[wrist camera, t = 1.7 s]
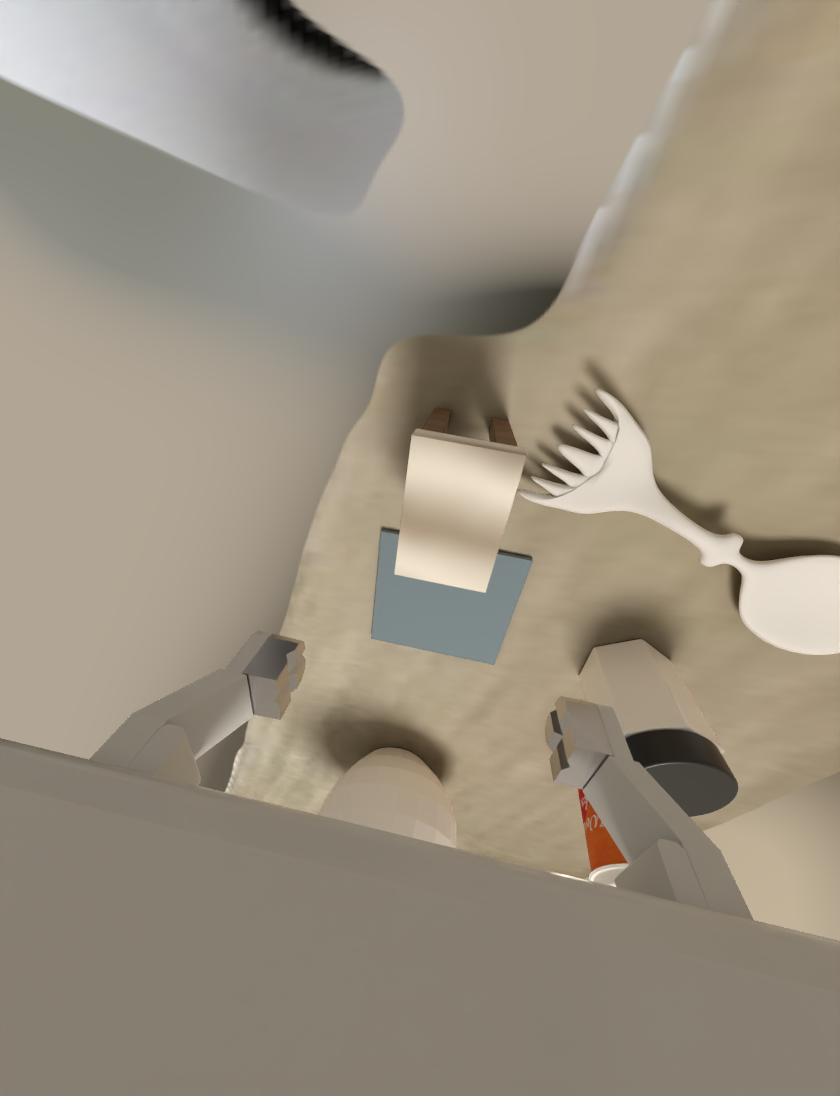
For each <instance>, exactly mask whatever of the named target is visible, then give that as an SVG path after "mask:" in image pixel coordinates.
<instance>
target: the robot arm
mask: <svg viewBox="0 0 840 1096" xmlns="http://www.w3.org/2000/svg"><path fill="white" fill-rule="evenodd" d="M304 650H305V645H304V641H300V640H296V639H292V638H288V637H284V636H280V635H276V634H271V633H267V632H263V631H257V632H255V633H254V634H252V636H251V637H250V638H249V639H248V641H247V642H246V643H245V645H244V646H243V647H242V648H241V650H240V651H239V652H238V653H237V655H236V656H235V657H234V659H233V660H232V661H231V662H230V664H229V665H228V666H227V668H226V669H225V670H223V669H219V670H217V671H215V672H213V673H211V674H209V675H207V676H205V677H203V678H201V679H199V680H197V681H195V682H194V683H191V684H190V685H188V686H186V687H184V688H182V689H180V690H178V691H176V692H174V693H172V694H170V695H168V696H166V697H164V698H162V699H160V700H158V701H156V702H154V703H152V704H150V705H148V706H146V707H145V708H142V709H141V710H138V711H137V712H135V713H133V714H132V715H131V716H130V717H129V718H128V719H127V720H126V721H125V722H124V723H123V724H122V725H121V726H120V727H119V728H118V730H116V732H115V733H114V734H113V735H112V736H111V737H110V738H109V739H108V740H107V741H106V742H105V743H104V744H103V745H102V746H101V747H100V748H99V750H98V751H97V752H96V753H95V754H94V755H93V756H92V757H91V758H90V759H89V760H88V759H84V758H80V757H76V756H72V755H67V754H63V753H59V752H55V751H50V750H47V749H43V748H38V747H34V746H30V745H26V744H21V743H18V742H14V741H9V740H5V739H1V738H0V1096H840V941H837V940H833V939H829V938H825V937H821V936H816V935H812V934H809V933H804V932H800V931H796V930H791V929H788V928H784V927H780V926H775V925H771V924H767V923H763V922H759V921H754V920H753V918H752V916H751V913H750V911H749V909H748V907H747V905H746V903H745V901H744V899H743V897H742V895H741V892H740V890H739V888H738V886H737V884H736V882H735V880H734V878H733V876H732V874H731V871H730V869H729V867H728V865H727V863H726V861H725V859H724V857H723V855H722V853H721V851H720V850H719V849H718V848H717V847H716V845H715V844H714V843H713V842H712V841H711V840H710V839H709V838H708V837H707V836H706V835H705V834H704V832H703V831H702V830H701V829H700V828H699V827H698V826H697V825H696V824H695V823H694V822H693V820H692V819H691V818H690V817H689V816H688V815H687V814H686V813H685V812H684V811H683V810H682V809H681V807H680V806H679V805H678V804H677V803H676V802H675V801H674V800H673V799H672V798H671V797H670V795H669V794H668V793H667V792H666V791H665V790H664V789H663V788H662V787H661V786H660V785H659V784H658V782H657V781H656V780H655V779H654V778H653V777H652V776H651V775H650V774H649V773H648V772H647V771H646V769H645V768H644V767H643V766H642V765H641V764H640V763H639V762H636V761H634V760H633V758H632V755H631V753H630V750H629V747H628V745H627V742H626V739H625V737H624V734H623V732H622V729H621V726H620V724H619V721H618V718H617V716H616V713H615V711H614V709H613V708H612V707H609V706H605V705H600V704H595V703H592V702H587V701H582V700H577V699H572V698H567V697H562V696H561V697H559V698H558V699H557V701H556V703H555V706H556V710H554V711H552V712H550V714H549V716H548V718H547V722H546V728H545V732H546V742H547V745H548V746H549V747H550V749H551V750H552V751H553V754H552V755H551V757H550V765H551V771H552V776H553V782H555V783H559V784H563V785H567V786H571V787H575V788H578V789H582V790H583V793H584V795H585V796H586V798H587V799H588V801H589V802H590V804H591V806H592V807H593V809H594V810H595V812H596V813H597V815H598V817H599V818H600V820H601V821H602V823H603V824H604V826H605V828H606V829H607V831H608V832H609V834H610V836H611V837H612V839H613V840H614V842H615V843H616V845H617V847H618V848H619V850H620V851H621V853H622V854H623V856H624V858H625V859H626V861H627V862H628V864H629V866H627V867H626V868H625V869H624V870H623V871H622V872H621V873H620V874H618V875H617V877H616V878H615V879H614V881H615V885H616V887H614V886H610V885H606V884H601V883H597V882H593V881H589V880H585V879H581V878H577V877H572V876H568V875H564V874H560V873H556V872H552V871H548V870H544V869H539V868H535V867H531V866H527V865H523V864H519V863H515V862H510V861H506V860H502V859H498V858H494V857H490V856H486V855H482V854H477V853H473V852H469V851H465V850H461V849H457V848H453V847H448V846H444V845H440V844H436V843H432V842H428V841H424V840H420V839H415V838H411V837H407V836H403V835H399V834H395V833H391V832H386V831H382V830H378V829H374V828H370V827H366V826H362V825H358V824H353V823H349V822H345V821H341V820H337V819H333V818H329V817H324V816H320V815H316V814H312V813H308V812H304V811H300V810H295V809H291V808H287V807H283V806H279V805H275V804H270V803H266V802H262V801H258V800H254V799H250V798H246V797H241V796H237V795H233V794H229V793H225V792H221V791H216V790H212V789H208V788H204V787H200V786H198V785H199V783H200V782H201V777H200V773H199V770H198V767H197V765H196V762H195V760H196V759H197V758H198V757H200V756H201V755H202V754H204V753H205V752H206V751H208V750H209V749H210V748H212V747H213V746H214V745H216V744H217V743H218V742H220V741H221V740H222V739H223V738H225V737H226V736H228V735H229V734H230V733H232V732H233V731H234V730H235V729H237V728H238V727H239V726H241V725H242V724H243V723H245V722H246V721H247V720H249V719H250V718H251V717H253V714H254V715H259V716H264V717H269V718H275V719H280V720H281V718H282V716H283V714H284V712H285V710H286V708H287V707H288V705H289V703H290V701H291V698H290V692H292V691H294V690H295V689H297V688H298V686H299V684H300V682H301V679H302V676H303V673H304V670H305V658H304V657H303V656H302V653H303V652H304Z"/></svg>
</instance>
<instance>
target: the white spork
mask: <svg viewBox="0 0 840 1096" xmlns="http://www.w3.org/2000/svg"><path fill="white" fill-rule="evenodd" d="M595 392H596V394H597V395H598V397H599V398H600V399H601V400H602V401H603V403H604V404H605V405H606V406H607V407H608V409H609V410H610V411H611V413H612V414H613V416H614V417H613V421H611V420H609V419H607V418H605V417H603V416H601V415H599V414H597V413H594V412H592V411H590V410H588V409H585V408H584V409H583V411H584V412H585V413H586V414H587V415H588V416H589V417H590V418H591V419H592V420H593V421H594V422H595V423H596V424H597V425H598V426H599V427H600V428H601V429H602V431H603V432H604V433H605V434H606V435H607V438H608V439H605V438H603V437H600V436H598V435H596V434H594V433H592V432H590V431H588V430H586V429H584V428H582V427H580V426H577V425H574V424H572V427H573V428H574V429H575V431H576V432H578V433H579V434H580V435H581V436H582V437H583V438H584V439H585V440H587V441H588V442H589V443H590V444H591V445H592V446H593V447H594V448H595V449H596V450H597V451H598V453H599V454H600V455H598V454H592V453H589V452H586V451H584V450H581V449H578V448H575V447H572V446H569V445H564V444H559V445H557V449H558V450H559V452H560V453H561V454H562V455H563V456H564V457H565V458H566V459H567V460H569V461H570V462H571V463H572V464H573V465H574V466H576V467H577V468H578V469H579V470H580V471H581V473H582V474H577V473H574V472H570V471H567V470H564V469H561V468H558V467H555V466H553V465H549V464H546V463H541V464H542V466H543V467H545V468H546V469H547V470H548V471H550V472H551V473H553V474H554V475H556V476H557V477H559V478H560V479H561V480H563V481H564V482H566V484H560V483H555V482H552V481H548V480H545V479H542V478H539V477H535V476H530V477H531V479H533V480H534V481H535V482H536V483H538V484H539V485H540V486H542V487H543V488H545V489H546V490H547V491H549V492H550V494H541V493H536V492H532V491H528V490H524V489H517V491H518V493H519V494H520V495H521V496H523V497H524V498H526V499H528V500H530V501H532V502H535V503H538V504H541V505H545V506H549V507H553V508H557V509H561V510H565V511H569V512H573V513H579V514H593V513H601V512H608V511H629V512H635V513H638V514H641V515H644V516H646V517H648V518H650V519H653V520H655V521H656V522H658V523H660V524H662V525H664V526H666V527H667V528H669V529H671V530H673V531H674V532H676V533H678V534H679V535H681V536H682V537H684V538H685V539H687V540H688V541H690V542H691V543H693V544H694V545H695V546H696V547H697V548H698V549H699V550H700V552H701V555H700V559H699V561H700V563H701V564H703V565H705V566H708V567H712V566H716V565H719V564H724V563H726V564H730V565H732V566H734V567H735V568H737V569H738V570H739V572H740V573H741V576H742V581H741V587H740V595H739V613H740V617H741V619H742V621H743V623H744V624H745V625H746V626H747V628H748V629H749V630H750V631H752V632H753V633H754V634H755V635H756V636H758V637H759V638H760V639H762V640H763V641H765V642H767V643H769V644H771V645H773V646H775V647H778V648H780V649H784V650H787V651H791V652H796V653H801V654H811V655H827V654H835V653H840V556H836V555H808V556H796V557H789V558H782V559H776V560H769V561H755V560H750V559H748V558H745V557H743V556H742V555H741V554H740V552H739V550H740V547H741V545H742V544H743V538H742V537H741V536H740V535H738V534H735V533H730V534H726V535H717V534H714V533H711V532H709V531H707V530H705V529H704V528H702V527H700V526H699V525H697V524H696V523H694V522H693V521H692V520H690V519H689V518H687V517H686V516H685V515H684V514H682V513H681V512H680V511H679V510H678V509H677V508H675V507H674V506H673V505H672V504H671V503H670V502H669V501H668V500H667V499H666V498H665V497H664V495H663V494H662V493H661V491H660V490H659V488H658V486H657V484H656V482H655V479H654V475H653V468H652V451H651V446H650V442H649V440H648V438H647V436H646V434H645V433H644V431H643V430H642V429H641V427H640V426H639V425H638V424H637V422H636V421H635V420H634V418H633V417H632V416H631V414H630V413H629V412H628V411H627V409H626V408H625V407H624V406H623V405H622V404H621V403H620V402H619V401H618V400H617V399H616V398H614V397H613V396H612V395H610V394H609V393H607V392H605V391H604V390H601V389H598V388H595Z"/></svg>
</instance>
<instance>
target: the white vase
mask: <svg viewBox="0 0 840 1096" xmlns="http://www.w3.org/2000/svg"><path fill="white" fill-rule="evenodd" d="M319 815H320V816H324V817H329V818H333V819H337V820H341V821H345V822H349V823H353V824H358V825H362V826H366V827H370V828H374V829H378V830H382V831H386V832H391V833H395V834H399V835H403V836H407V837H411V838H415V839H420V840H424V841H428V842H432V843H436V844H440V845H444V846H448V847H453V848H456V833H457V826H456V821H455V816H454V811H453V807H452V803H451V801H450V799H449V797H448V795H447V793H446V792H445V790H444V788H443V786H442V784H441V783H440V781H439V779H438V777H437V776H436V775H435V774H434V773H433V772H432V771H431V770H430V768H429V767H428V766H427V765H426V764H425V763H424V762H423V761H422V760H421V759H420V758H419V757H418V756H416V755H415V754H413V753H412V752H410V751H407V750H404V749H400V748H393V747H387V748H380V749H377V750H374V751H373V752H371V753H370V754H368V755H367V756H365V757H364V758H362V759H361V760H359V761H358V762H357V763H356V764H354V765H353V766H352V767H351V768H350V769H349V770H348V771H347V772H346V773H345V774H344V775H343V776H342V777H340V779H339V780H338V781H337V783H336V784H335V786H334V787H333V789H332V790H331V792H330V793H329V795H328V796H327V798H326V799H325V801H324V803H323V806H322V808H321V811H320V813H319Z"/></svg>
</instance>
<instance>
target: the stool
mask: <svg viewBox="0 0 840 1096" xmlns="http://www.w3.org/2000/svg"><path fill="white" fill-rule="evenodd" d="M450 414H451V410H446V409H440V408H435V410H434V411H433V413H432V414H431V416H430V417H429V419H428V420H427V422H426V423H425V425H424V426H423V428H422V429H417V428H416V430H415V431H414V432H413V434H412V436H411V444H410V452H409V460H408V468H407V476H406V484H405V492H404V500H403V508H402V516H401V524H400V532H399V540H398V548H397V556H396V564H395V572H394V574H395V575H400V576H405V577H409V578H414V579H419V580H424V581H429V582H434V583H439V584H444V585H449V586H454V587H459V588H464V589H469V590H474V591H478V592H483V593H486V589H487V586H488V583H489V579H490V576H491V573H492V570H493V566H494V563H495V560H496V556H497V553H498V550H499V546H500V543H501V540H502V537H503V533H504V530H505V527H506V523H507V520H508V517H509V513H510V510H511V507H512V504H513V500H514V497H515V494H516V490H517V487H518V484H519V480H520V477H521V474H522V470H523V467H524V464H525V461H526V457H527V455H526V452H525V450H524V448H523V447H518V446H517V443H516V440H515V437H514V435H513V432H512V429H511V426H510V423H509V421H508V420H503V419H497V418H493V420H492V424H491V428H490V432H489V438H490V441H484V440H478V439H473V438H467V437H462V436H456V435H451V434H446V432H447V429H448V426H449V420H450Z"/></svg>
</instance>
